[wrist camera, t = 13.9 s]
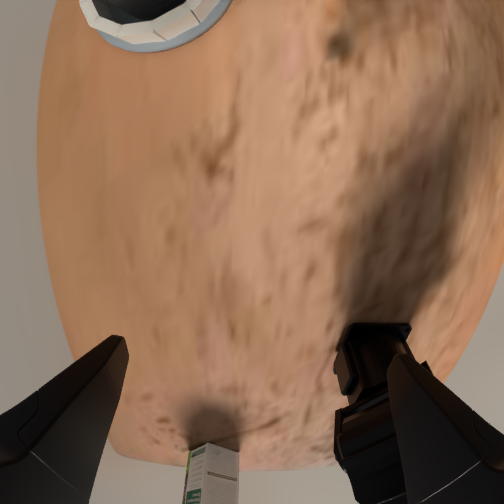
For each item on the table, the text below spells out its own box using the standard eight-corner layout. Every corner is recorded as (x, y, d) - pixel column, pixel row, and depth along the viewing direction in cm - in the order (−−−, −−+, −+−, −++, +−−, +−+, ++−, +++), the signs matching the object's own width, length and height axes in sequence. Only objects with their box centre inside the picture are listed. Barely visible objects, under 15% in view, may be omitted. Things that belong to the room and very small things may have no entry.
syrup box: (207, 441, 35) (197, 531, 22) (241, 452, 37) (237, 537, 24) (188, 451, 37) (176, 531, 24) (220, 461, 39) (214, 538, 26)
